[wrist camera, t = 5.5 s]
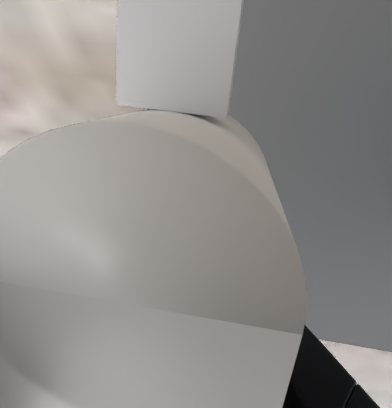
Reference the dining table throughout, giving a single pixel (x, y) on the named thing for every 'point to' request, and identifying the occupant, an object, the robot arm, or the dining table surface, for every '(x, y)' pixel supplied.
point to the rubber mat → (327, 149)
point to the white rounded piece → (150, 238)
